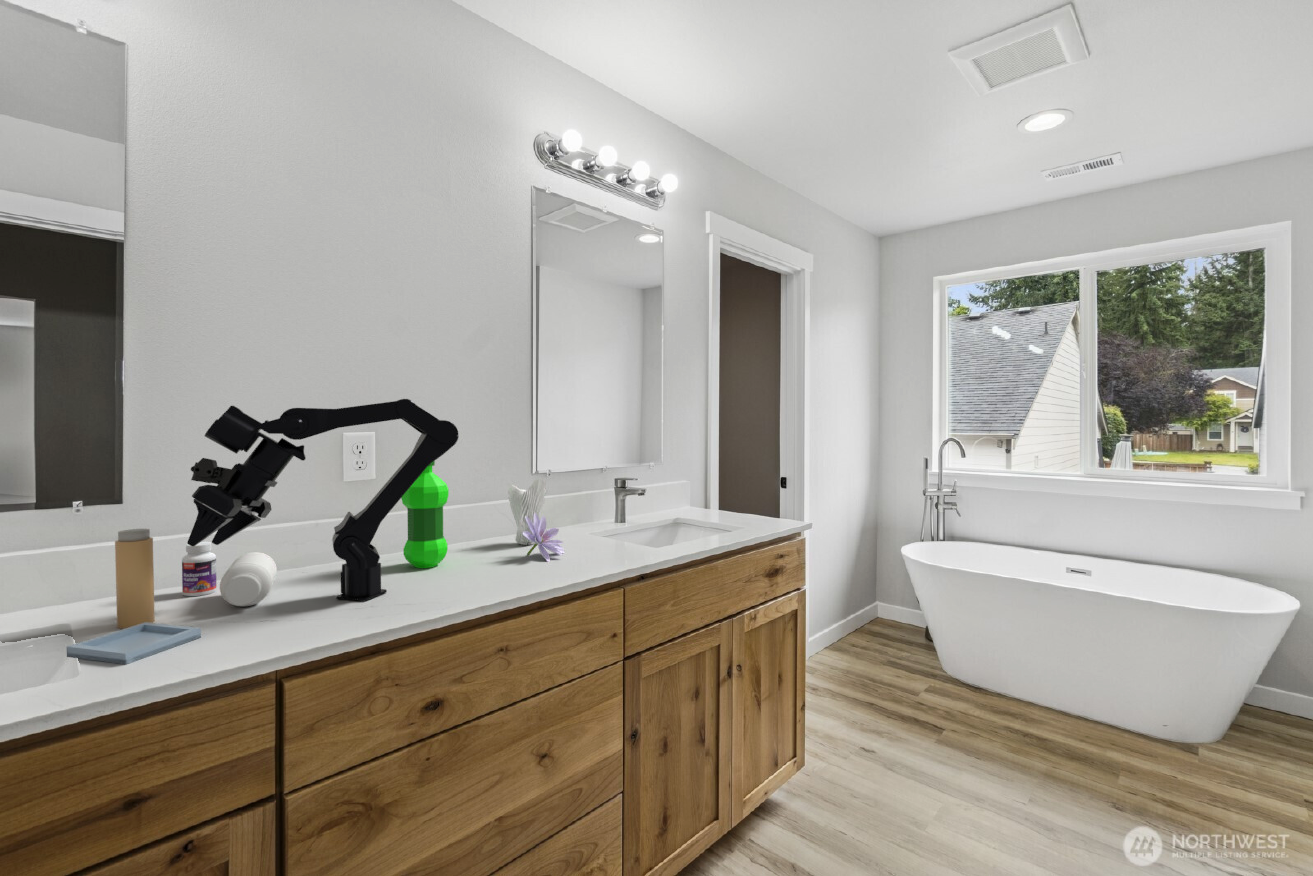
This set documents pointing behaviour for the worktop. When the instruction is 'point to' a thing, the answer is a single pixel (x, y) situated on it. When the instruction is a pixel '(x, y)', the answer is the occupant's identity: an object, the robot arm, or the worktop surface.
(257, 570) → the pill bottle
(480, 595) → the worktop surface
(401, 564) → the worktop surface
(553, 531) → the water lily
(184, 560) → the pill bottle
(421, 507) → the plastic bottle
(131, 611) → the cylinder
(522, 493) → the shell sculpture
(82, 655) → the tray
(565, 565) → the worktop surface
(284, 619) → the worktop surface
